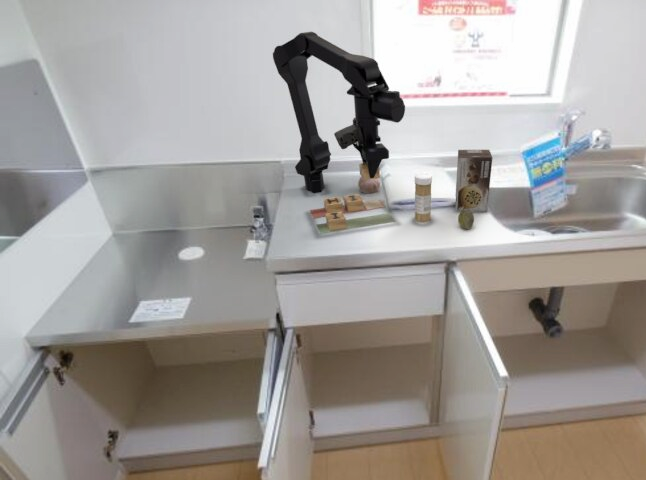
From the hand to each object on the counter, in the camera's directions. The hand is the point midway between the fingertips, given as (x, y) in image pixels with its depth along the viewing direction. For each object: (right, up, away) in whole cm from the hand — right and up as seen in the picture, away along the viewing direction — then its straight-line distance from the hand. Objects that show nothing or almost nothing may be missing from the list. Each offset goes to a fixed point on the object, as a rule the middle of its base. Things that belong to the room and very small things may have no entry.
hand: (369, 174), depth 124 cm
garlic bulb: (-2, 0, +16) cm, 17 cm away
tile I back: (-5, -8, +5) cm, 11 cm away
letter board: (-5, -12, +2) cm, 13 cm away
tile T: (0, 0, 0) cm, 0 cm away
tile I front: (-8, -15, -4) cm, 18 cm away
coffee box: (+29, -7, +9) cm, 31 cm away
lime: (+27, -15, -1) cm, 31 cm away
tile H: (-11, -9, +3) cm, 14 cm away
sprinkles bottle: (+15, -13, +1) cm, 20 cm away
